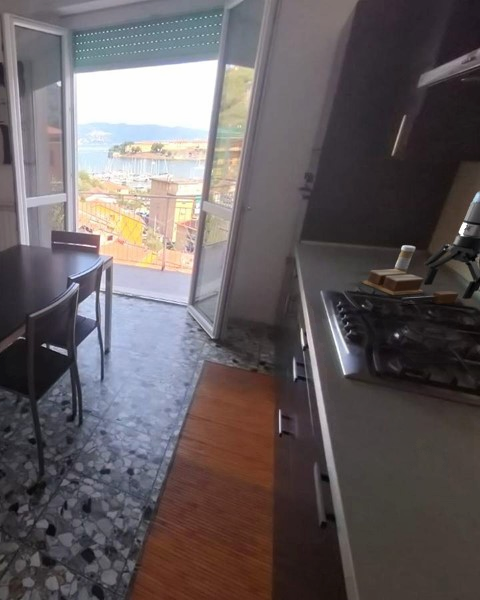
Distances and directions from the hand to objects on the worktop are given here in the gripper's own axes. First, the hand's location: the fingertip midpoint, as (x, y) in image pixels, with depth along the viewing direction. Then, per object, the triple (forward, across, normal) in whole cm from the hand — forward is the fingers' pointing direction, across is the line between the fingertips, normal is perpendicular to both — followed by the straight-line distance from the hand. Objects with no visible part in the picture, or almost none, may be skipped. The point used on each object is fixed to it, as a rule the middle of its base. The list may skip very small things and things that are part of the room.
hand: (446, 291), depth 134 cm
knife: (+5, 0, -7) cm, 9 cm away
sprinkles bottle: (+5, -30, +14) cm, 33 cm away
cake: (+5, -16, -5) cm, 17 cm away
